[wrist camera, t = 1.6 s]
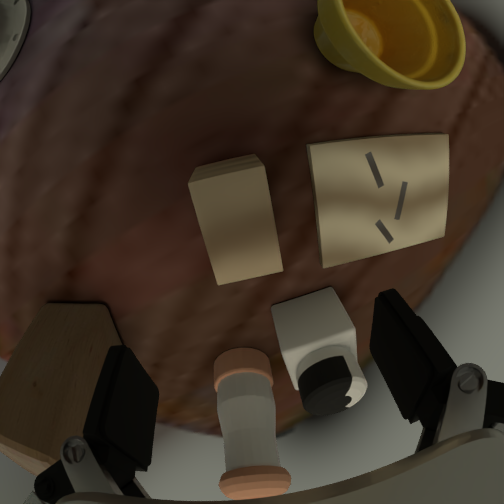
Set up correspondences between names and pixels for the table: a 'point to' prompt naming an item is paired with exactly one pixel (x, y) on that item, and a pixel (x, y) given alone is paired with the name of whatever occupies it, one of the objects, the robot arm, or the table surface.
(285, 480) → the pepper shaker
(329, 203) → the board
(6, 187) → the table surface
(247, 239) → the block
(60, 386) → the wooden block
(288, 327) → the medicine bottle
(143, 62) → the table surface
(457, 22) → the plant pot
